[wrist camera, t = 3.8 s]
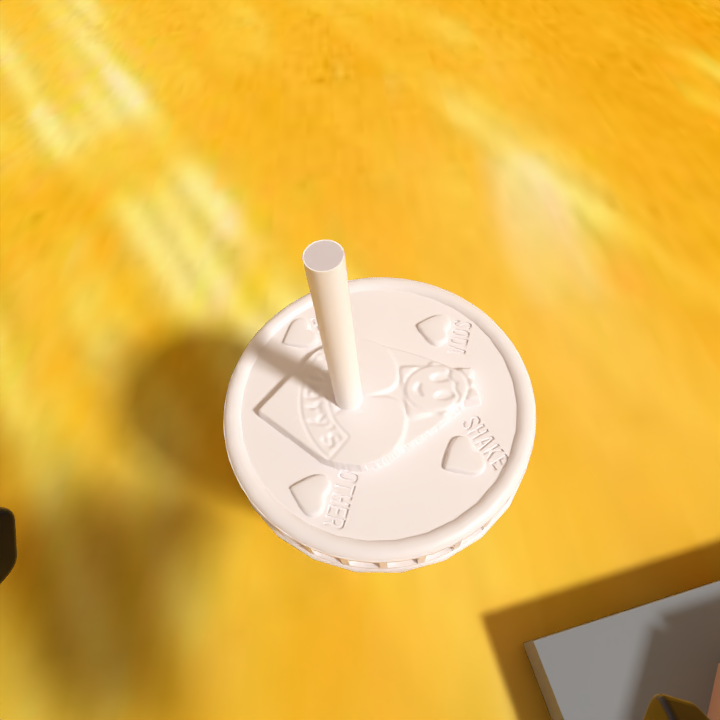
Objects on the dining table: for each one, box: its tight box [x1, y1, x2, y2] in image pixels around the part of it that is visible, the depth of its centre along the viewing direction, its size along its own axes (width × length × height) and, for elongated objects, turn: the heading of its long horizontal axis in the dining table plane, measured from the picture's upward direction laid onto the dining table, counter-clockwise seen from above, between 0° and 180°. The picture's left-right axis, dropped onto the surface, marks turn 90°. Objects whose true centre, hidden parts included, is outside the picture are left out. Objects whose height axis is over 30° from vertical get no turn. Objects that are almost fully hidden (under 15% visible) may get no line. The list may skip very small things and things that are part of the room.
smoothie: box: [223, 240, 536, 573], centre depth 13 cm, size 6×6×14 cm
